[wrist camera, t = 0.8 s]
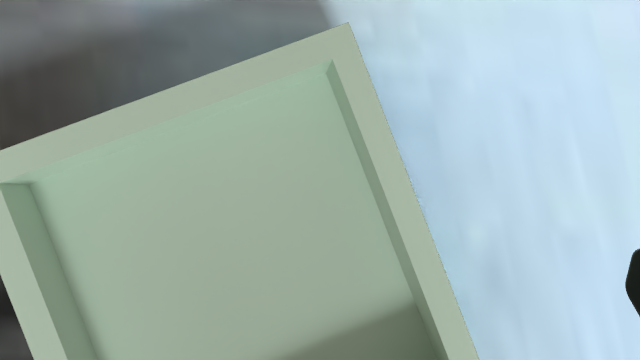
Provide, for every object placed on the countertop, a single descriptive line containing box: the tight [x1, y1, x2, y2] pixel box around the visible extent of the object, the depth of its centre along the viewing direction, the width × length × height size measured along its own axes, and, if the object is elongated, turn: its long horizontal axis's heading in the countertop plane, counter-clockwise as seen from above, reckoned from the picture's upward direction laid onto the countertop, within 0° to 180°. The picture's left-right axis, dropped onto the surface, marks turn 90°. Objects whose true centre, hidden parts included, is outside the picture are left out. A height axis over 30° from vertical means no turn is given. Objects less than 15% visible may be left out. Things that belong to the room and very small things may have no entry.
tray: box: [0, 22, 479, 360], centre depth 22 cm, size 14×14×4 cm
